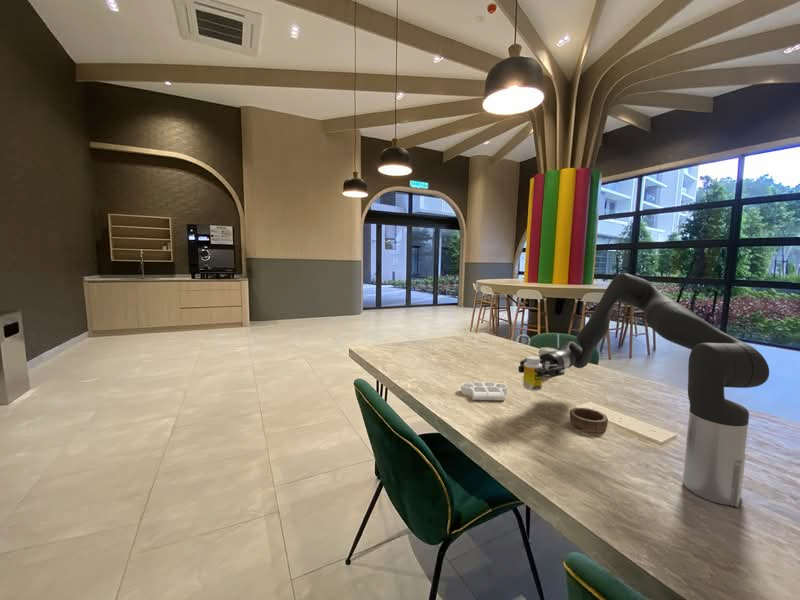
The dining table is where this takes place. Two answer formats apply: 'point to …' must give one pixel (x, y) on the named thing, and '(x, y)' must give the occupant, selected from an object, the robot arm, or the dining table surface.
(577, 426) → the brown wooden bowl
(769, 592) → the dining table surface
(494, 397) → the white brass knuckles
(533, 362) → the supplement bottle
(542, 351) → the coffee cup
